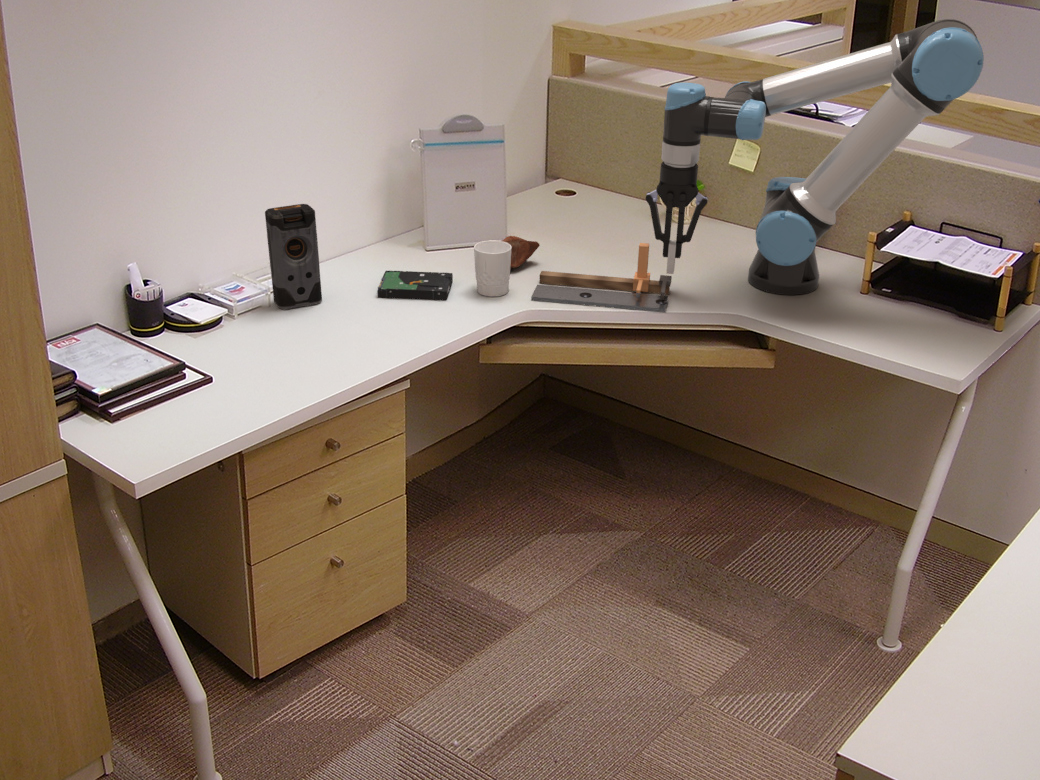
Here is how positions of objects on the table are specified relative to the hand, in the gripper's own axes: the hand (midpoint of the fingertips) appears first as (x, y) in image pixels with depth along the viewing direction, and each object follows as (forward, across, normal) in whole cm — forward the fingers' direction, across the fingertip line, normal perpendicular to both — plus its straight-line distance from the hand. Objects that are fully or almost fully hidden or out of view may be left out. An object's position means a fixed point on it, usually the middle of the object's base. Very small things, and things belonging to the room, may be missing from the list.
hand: (670, 271), depth 229 cm
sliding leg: (+4, +6, +3) cm, 8 cm away
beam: (+5, +14, +4) cm, 15 cm away
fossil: (+5, +36, -7) cm, 37 cm away
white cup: (+5, +37, +8) cm, 38 cm away
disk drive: (+6, +53, +11) cm, 54 cm away
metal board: (+5, +14, +8) cm, 17 cm away
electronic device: (+5, +75, +23) cm, 79 cm away
